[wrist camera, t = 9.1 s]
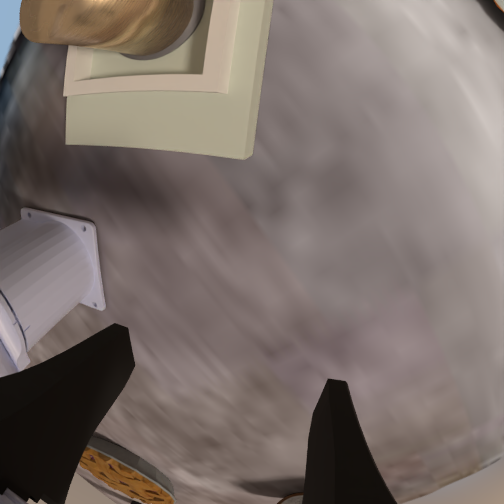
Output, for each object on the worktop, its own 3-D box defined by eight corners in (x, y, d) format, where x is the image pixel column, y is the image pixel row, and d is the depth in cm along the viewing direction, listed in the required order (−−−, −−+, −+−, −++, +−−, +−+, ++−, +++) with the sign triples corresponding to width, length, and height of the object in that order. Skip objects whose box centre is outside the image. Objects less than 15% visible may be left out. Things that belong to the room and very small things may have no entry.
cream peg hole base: (57, 139, 19) (23, 148, 16) (85, -47, 12) (56, -58, 9) (252, 154, 17) (235, 164, 14) (285, -81, 9) (276, -111, 6)
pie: (57, 416, 42) (44, 434, 38) (151, 449, 36) (137, 475, 32) (111, 473, 50) (102, 489, 46) (197, 501, 44) (189, 521, 40)
